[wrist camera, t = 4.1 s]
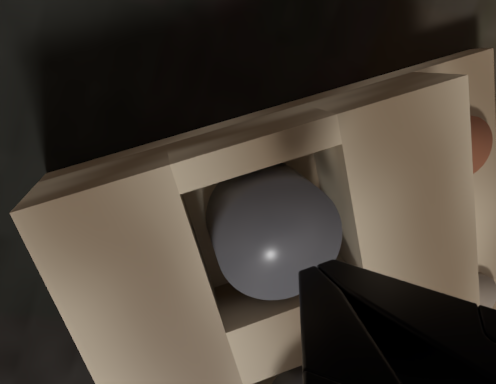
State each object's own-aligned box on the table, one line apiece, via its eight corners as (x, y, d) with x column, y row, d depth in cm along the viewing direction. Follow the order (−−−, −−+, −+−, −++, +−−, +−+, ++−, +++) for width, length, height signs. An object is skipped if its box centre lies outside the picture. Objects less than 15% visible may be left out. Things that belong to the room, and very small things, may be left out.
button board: (212, 543, 19) (225, 641, 16) (45, 173, 13) (9, 213, 9) (489, 425, 21) (550, 491, 18) (471, 48, 15) (563, 45, 11)
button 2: (223, 278, 14) (235, 317, 12) (191, 180, 12) (199, 203, 10) (322, 244, 14) (351, 276, 12) (302, 146, 13) (330, 162, 11)
